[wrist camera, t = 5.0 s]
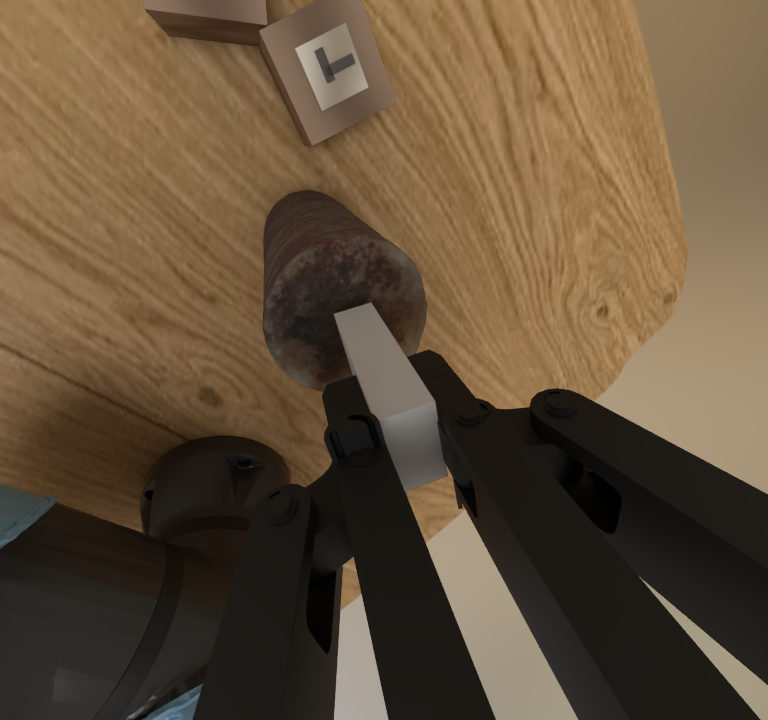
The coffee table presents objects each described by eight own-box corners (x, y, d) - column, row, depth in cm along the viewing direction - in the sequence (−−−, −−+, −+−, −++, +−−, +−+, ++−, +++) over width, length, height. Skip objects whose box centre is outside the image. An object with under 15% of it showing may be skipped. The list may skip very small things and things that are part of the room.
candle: (269, 173, 29) (276, 217, 13) (360, 198, 32) (464, 260, 15) (258, 269, 32) (251, 405, 16) (341, 284, 35) (410, 414, 18)
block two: (304, 145, 29) (313, 146, 24) (260, 52, 26) (258, 28, 20) (373, 109, 29) (398, 102, 24) (338, 12, 26) (357, -23, 20)
